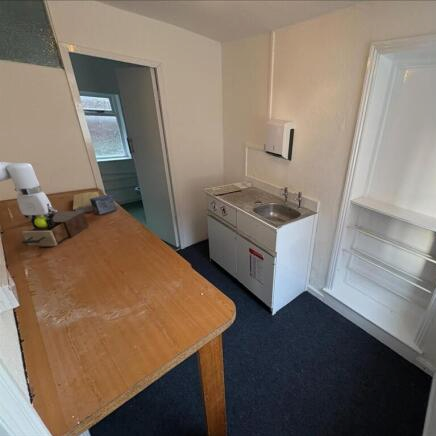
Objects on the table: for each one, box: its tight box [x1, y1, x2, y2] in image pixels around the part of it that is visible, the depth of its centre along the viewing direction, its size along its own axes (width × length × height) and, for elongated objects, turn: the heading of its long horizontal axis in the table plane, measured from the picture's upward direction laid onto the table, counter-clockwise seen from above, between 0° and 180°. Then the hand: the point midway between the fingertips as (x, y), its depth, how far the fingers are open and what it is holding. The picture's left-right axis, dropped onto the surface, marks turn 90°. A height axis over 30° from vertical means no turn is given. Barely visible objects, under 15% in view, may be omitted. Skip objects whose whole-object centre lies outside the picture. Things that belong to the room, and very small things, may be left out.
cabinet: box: [53, 210, 90, 239], centre depth 125 cm, size 15×13×10 cm
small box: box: [90, 194, 117, 216], centre depth 153 cm, size 11×6×10 cm, turn 154°
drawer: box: [21, 223, 69, 247], centre depth 114 cm, size 18×11×8 cm, turn 9°
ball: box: [34, 216, 48, 228], centre depth 112 cm, size 6×6×6 cm
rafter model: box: [72, 191, 100, 213], centre depth 164 cm, size 35×14×6 cm, turn 39°
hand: (44, 226), depth 113 cm, fingers closed on ball, 5 cm apart
